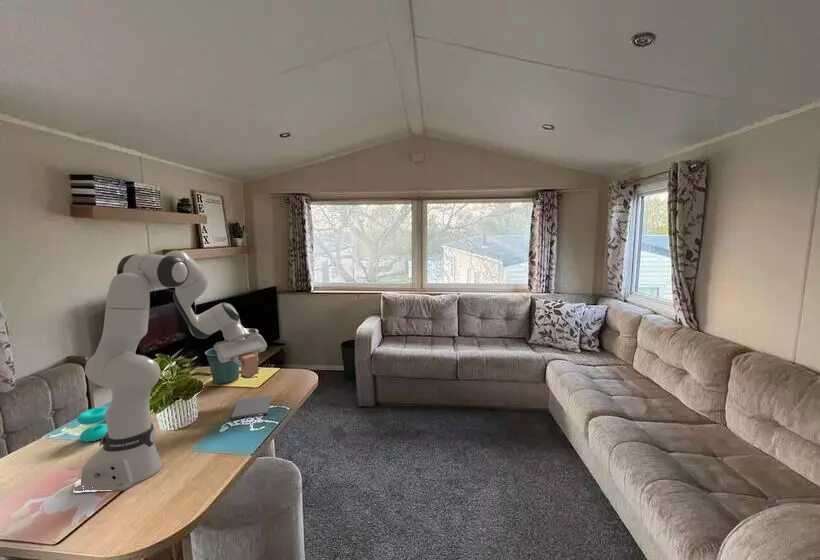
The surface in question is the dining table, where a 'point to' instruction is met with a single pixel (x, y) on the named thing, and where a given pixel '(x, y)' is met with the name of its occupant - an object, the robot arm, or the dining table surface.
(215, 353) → the flower pot
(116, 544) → the dining table surface
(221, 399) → the dining table surface
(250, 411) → the slate board
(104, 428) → the donuts
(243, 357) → the terracotta block
